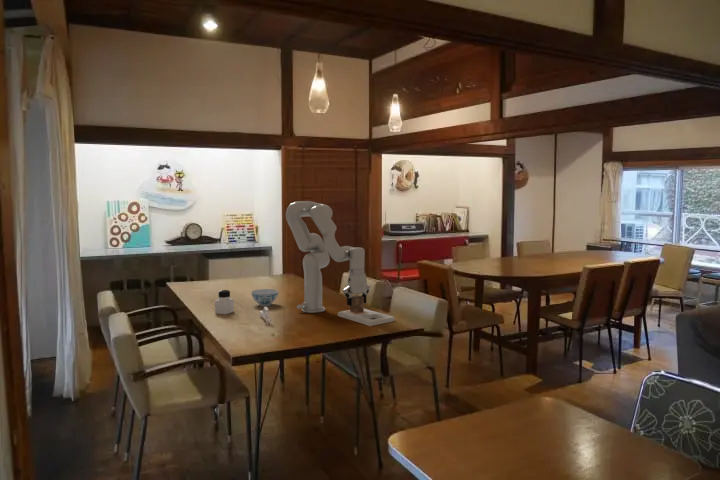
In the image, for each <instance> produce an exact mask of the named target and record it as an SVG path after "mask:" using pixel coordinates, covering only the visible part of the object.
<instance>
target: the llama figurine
mask: <svg viewBox="0 0 720 480" xmlns="http://www.w3.org/2000/svg"><path fill="white" fill-rule="evenodd" d="M258 314H259V318H263V319H264V320H265V322H266V323H267V325H270V326H271V325H272V323H271V321H272V319H271V315H270V312H269V308H268V306H263V310H259V312H258ZM268 322H269V324H268Z"/></svg>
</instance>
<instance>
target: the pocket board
mask: <svg viewBox="0 0 720 480" xmlns="http://www.w3.org/2000/svg"><path fill="white" fill-rule="evenodd" d="M337 316H338V317H340V318H343V319H346V320H349V321H353V322H356V323H360V324H362V325H366V326H369V327H372V326H377V325H378V326H379V325H382V324H386V323H392V322H395V316H392V315H389V314H384V313H381V312H378V311H373V310H370V309H368V308H364V312H360V313H354V312H350V309H348V310H347V309H346V310H342V311H337Z"/></svg>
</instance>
